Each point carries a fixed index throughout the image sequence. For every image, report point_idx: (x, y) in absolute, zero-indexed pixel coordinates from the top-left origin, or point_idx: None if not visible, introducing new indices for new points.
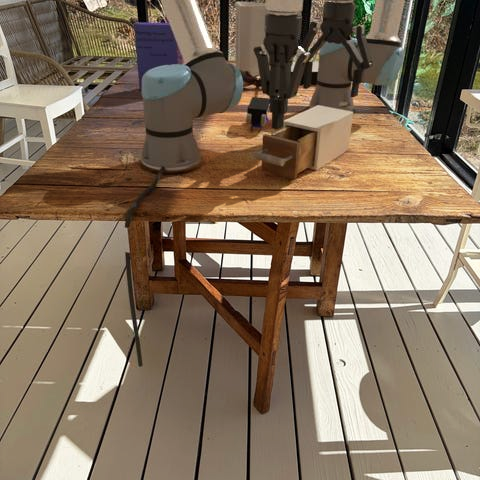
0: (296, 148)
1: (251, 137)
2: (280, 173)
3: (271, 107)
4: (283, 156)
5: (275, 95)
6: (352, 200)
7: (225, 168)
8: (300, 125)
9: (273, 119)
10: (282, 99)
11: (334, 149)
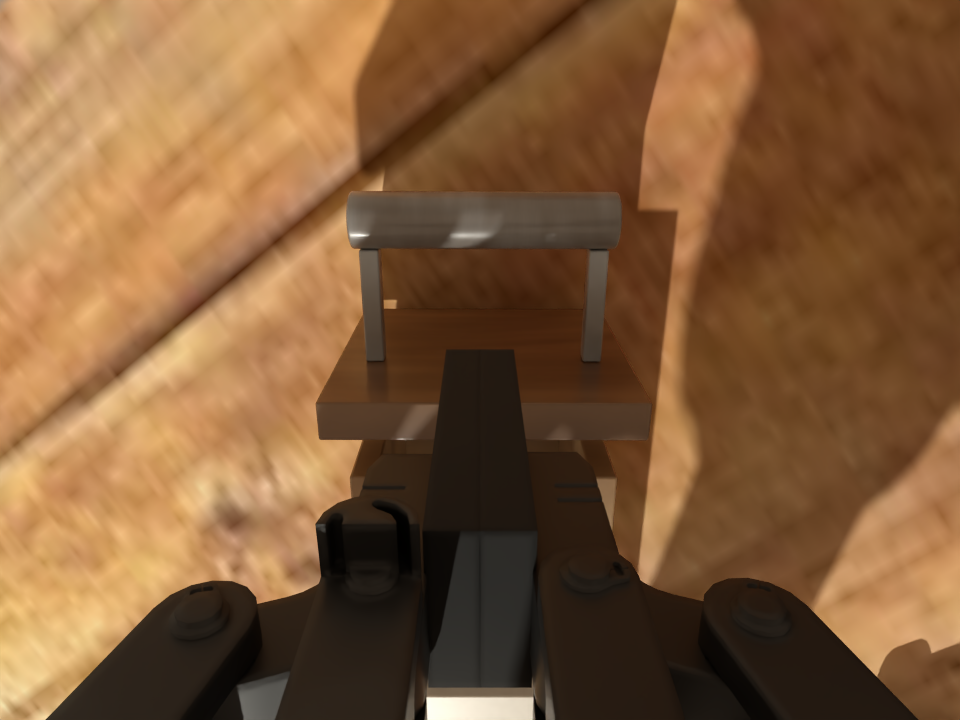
0: (327, 386)
1: (894, 672)
2: (462, 311)
3: (565, 485)
4: (444, 353)
5: (535, 626)
6: (6, 297)
7: (823, 230)
8: (492, 692)
9: (494, 387)
10: (325, 536)
11: None
